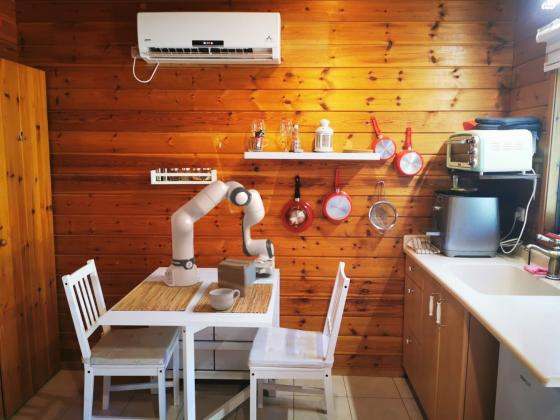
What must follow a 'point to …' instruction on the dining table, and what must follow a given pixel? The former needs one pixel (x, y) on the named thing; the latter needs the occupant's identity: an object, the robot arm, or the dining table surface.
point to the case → (250, 274)
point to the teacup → (222, 298)
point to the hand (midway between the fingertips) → (251, 271)
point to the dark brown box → (233, 275)
